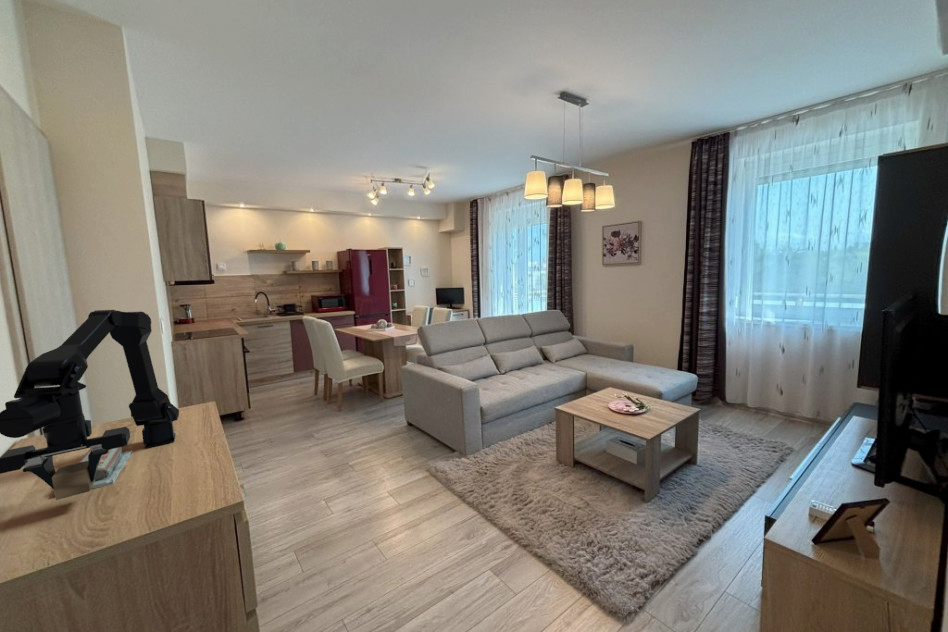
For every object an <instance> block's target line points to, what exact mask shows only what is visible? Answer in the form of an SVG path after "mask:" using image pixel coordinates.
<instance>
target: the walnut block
mask: <svg viewBox="0 0 948 632" xmlns="http://www.w3.org/2000/svg"><path fill="white" fill-rule="evenodd" d="M52 482H53V487H54V489H53V492H54V493H55V494H54V493H53V494H54V498H55V501H58V500H63V499H66V498H69V497H72V496H76V495H80V494H84V493H89V492H91V490H92V489H91V488H92V486H93V484H94V482H95V480H94V481H93V482H91V480H90V477H89V462H88V461H85V462H80V463H79V462H76V463H72V464H71V463H70V464H68V465H62V466H59V467H58V468H57V469H56V470H55V474H54V475H53V477H52Z"/></svg>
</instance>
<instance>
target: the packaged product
mask: <svg viewBox="0 0 948 632" xmlns="http://www.w3.org/2000/svg"><path fill="white" fill-rule="evenodd" d="M91 450H92V449H90V448H89V450H88V451H87V452H86V453H85V454H84V455H83V456H82V458H80V460H79V461H78V463H80V462H85V461H88V455H89V454H90V452H91ZM122 450H123V447H119V448H114V449H110V450H109V451H108V453H107V454H104V455H102V456H101V458H100V461H99V465H98V468H97V472H96V476H95V482H94V484H93V486H92V488H91V490H93V489H94V490H95V489H97V488H102V487H107V486H110V485H113V484H114V483H115V482H116V480H117V478H118V477H119V474H120V472H121V471H122V469H124V467H125V466H126V464H127V461H128V460H129V458H130V456H131V455H132V452H133V450H132V449H131V450H127V451H126V450H125V451H122ZM53 494H54V495H55V493H53Z"/></svg>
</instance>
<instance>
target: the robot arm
mask: <svg viewBox="0 0 948 632" xmlns="http://www.w3.org/2000/svg"><path fill="white" fill-rule="evenodd" d="M151 333H152V319H151V317H150V315H149V314H148V313H145V312H144V311H120V310H115V309H105V310H104V309H99V310H97V309H96V310H94V311H91V312H89V314H88V316H87V318H86V320H85V321H83V323H82V324H80V326H79V327H78V328H77V329H76V330H75V331H74V332H73V333H71V335H70V336H69V337H68V338H66V339H65V341H63V343H62V344H61V345H59V346H57V348H54V349H51V350H49V351H47V352H44V353H42V354H40V355H39V356H38V357H36V358H34V359H33V360H31V361H30V362H29V363H28V364H27V366H26V367H25V369H24V372H23V375H22V377H21V379H20V381H19V384H18V386H17V388H16V391H15V393H14V396H13V398H14V399H11V400H9V401H6V402H5V403H4V406H5V409H4V410H2V411H0V435H2V436H4V437H6V438H11V439H18V438H23V437H25V436H27V435H29V434H31V433H33V432H36V431H37V430H40V429H42V432H43V435H44V438H45V442H46V446H47V447H42V448H38V449H37V448H36V446H35V445H32V444H31V445H26V446H21V447H17V448H11V449H8V450H7V451H6V452H4V453H3V454H2V455H1V456H0V475H1V474H5V473H6V474H7V473H9V472H15V471H18V470H21V469H22V468H23V469H22V472H23V473H28V472H30V473H31V474H34V476H36V477H38V478H40V479H41V480H42V481H43V482H45V483H46V484H47V485H48V486H49V487H50V488H51V489H52V490H54V487H53V482H52V477H53V475H54V474H55V472H56V469H55V467H54V466H55V465H54V461H53V460H54V459H53V456H58V455H62V454H67V453H72V452H76V451H80V450H85V449H89V450H90V449H92V450H91V452H90V454H89V455H88V462H89V477H90V480H91V482H93V481H94V480H95V476H96V472H97V468H98V465H99V461H100V458H101V456H102V455H104V454H107V453H108V451H109V450H110V449H114V448H119V447H122V448H124V447H125V446H128V443H129V441H130V438H131V433H130V429H129V428H128V427H126V426H123V427H122V426H121V427H118V428H117V427H116V428H112V429H105V430H104V432H103V433H102V435H101V436H96V437H92V438H91V434H92V430H93V429H92V421H91V419H86V417H85V415H84V413H83V405H82V401H81V395H80V391H81V390H84V389H86V388H87V384H84V383H82V382H79V381H80V380H81V379H82V378H83V376H84V374H85V372H86V371H87V369H88V368H89V365H88V361H87V360H88V358H89V357H90V355H91V354H92V353H93V352H94V350H96V349H97V347H98V346H99V345H100V344H101V343H102V342H103V340H104V339H105V338H106V337H107V336H108V335H110V336H111V339H113V340H114V341H115V342H117V344H119V345H120V346H121V347H122V349H123V352H124V356H125V360H126V364H127V368H128V372H129V374H130V379H131V383H132V385H133V389H134V393H135V395H134V397H133V398H132V399H133V400H132V401H131V403H130V402H129V404H128V408H129V411H130V417H131V418H132V419H133V421H134V424H135V426H136V427H140V426H143V427H142V430H141V435H142V441H143V442H142V443H143V445H145V449H148V448H152V447H153V448H154V447H157V446H162V445H166V444H170V443H174V442H175V441H176V440H175V439H176V432H175V429H174V422H176V421H178V418H179V416H180V410H179V409H178V408H177V407H176V406H175V405H173V404H172V403H171V401H170V397H169V395H168V394H167V393H166V392H164V391H163V390H162V389H161V388H159V386H158V382H157V378H156V374H155V369H154V366H153V362H152V359H151V353H150V350H149V346H148V343H147V342H148V339H149V337H150V335H151ZM88 437H89V438H88Z"/></svg>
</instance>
